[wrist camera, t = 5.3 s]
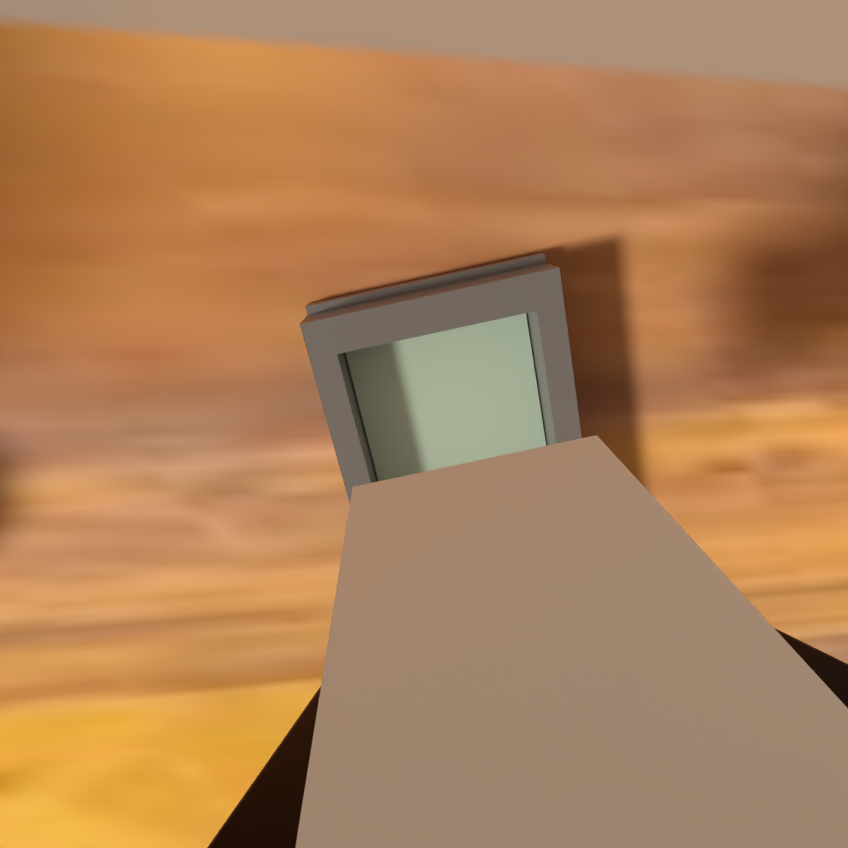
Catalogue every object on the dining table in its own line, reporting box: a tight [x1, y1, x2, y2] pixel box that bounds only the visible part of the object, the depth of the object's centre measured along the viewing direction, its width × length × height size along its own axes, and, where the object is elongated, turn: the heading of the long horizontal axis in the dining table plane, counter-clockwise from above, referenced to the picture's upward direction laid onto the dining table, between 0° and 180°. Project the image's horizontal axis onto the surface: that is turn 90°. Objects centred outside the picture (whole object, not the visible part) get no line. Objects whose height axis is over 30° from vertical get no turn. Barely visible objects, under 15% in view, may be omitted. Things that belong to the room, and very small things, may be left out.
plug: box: [295, 435, 848, 848], centre depth 6 cm, size 4×4×9 cm
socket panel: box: [300, 253, 582, 502], centre depth 19 cm, size 16×7×2 cm, turn 12°
